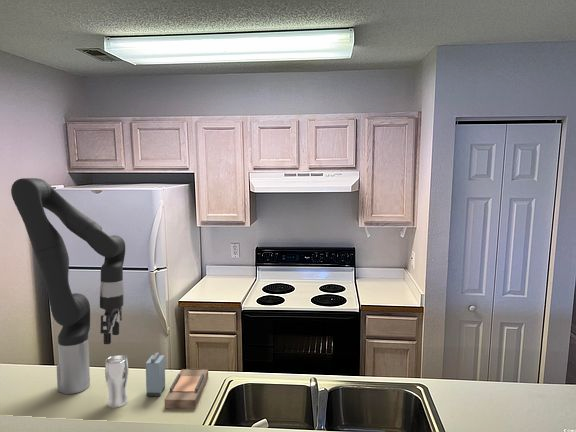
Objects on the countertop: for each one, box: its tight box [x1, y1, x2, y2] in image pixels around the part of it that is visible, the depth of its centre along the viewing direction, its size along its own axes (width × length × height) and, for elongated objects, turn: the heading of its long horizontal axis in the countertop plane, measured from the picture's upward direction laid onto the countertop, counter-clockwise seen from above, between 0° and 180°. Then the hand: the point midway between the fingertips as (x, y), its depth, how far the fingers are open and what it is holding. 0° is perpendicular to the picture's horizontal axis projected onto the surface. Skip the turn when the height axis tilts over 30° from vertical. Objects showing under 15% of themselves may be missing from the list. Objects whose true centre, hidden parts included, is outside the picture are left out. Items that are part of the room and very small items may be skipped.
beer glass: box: [104, 354, 129, 409], centre depth 128 cm, size 7×7×15 cm
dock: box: [164, 368, 209, 410], centre depth 135 cm, size 10×20×4 cm, turn 0°
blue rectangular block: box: [145, 352, 166, 397], centre depth 134 cm, size 4×6×13 cm
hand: (111, 339), depth 135 cm, fingers open, 8 cm apart
